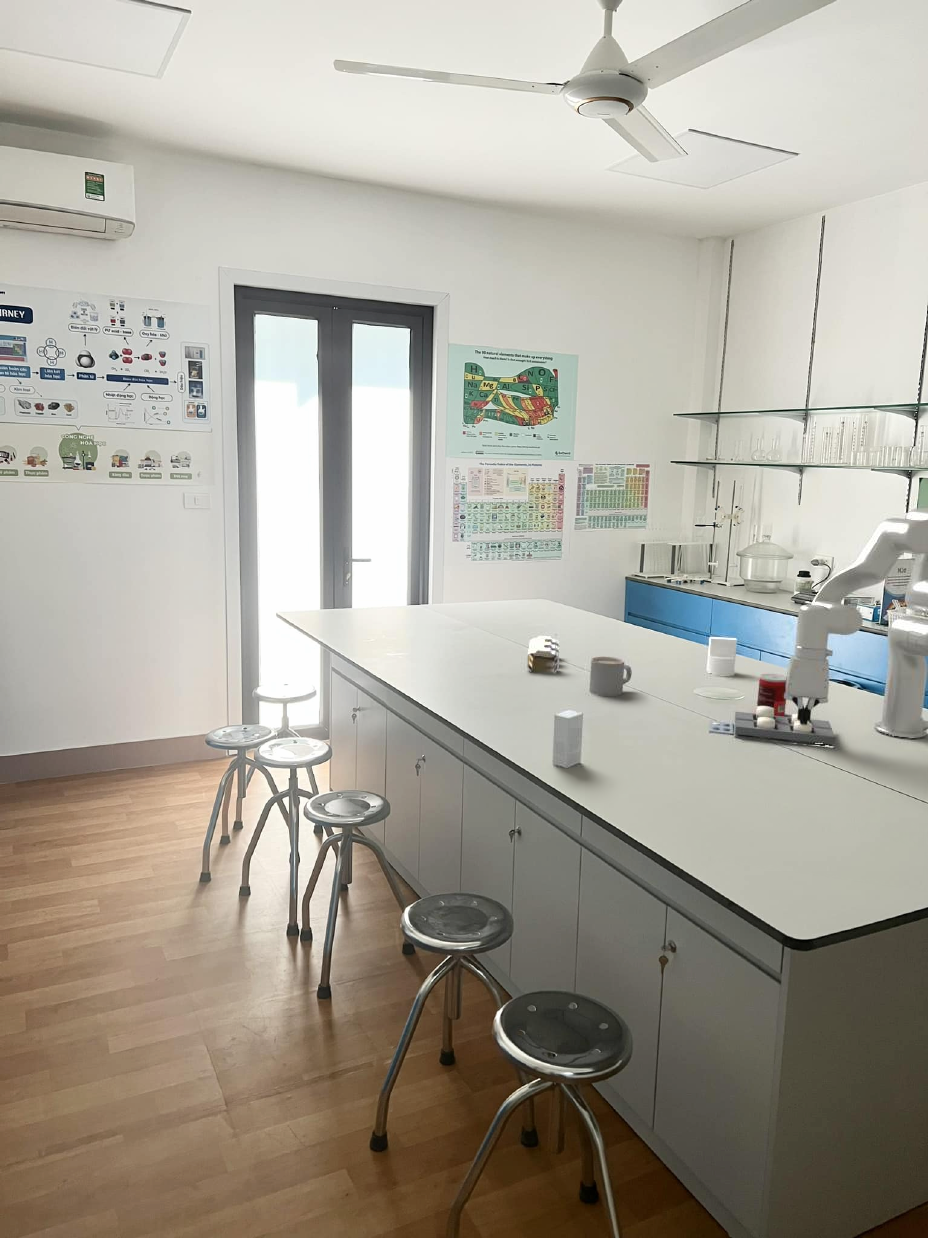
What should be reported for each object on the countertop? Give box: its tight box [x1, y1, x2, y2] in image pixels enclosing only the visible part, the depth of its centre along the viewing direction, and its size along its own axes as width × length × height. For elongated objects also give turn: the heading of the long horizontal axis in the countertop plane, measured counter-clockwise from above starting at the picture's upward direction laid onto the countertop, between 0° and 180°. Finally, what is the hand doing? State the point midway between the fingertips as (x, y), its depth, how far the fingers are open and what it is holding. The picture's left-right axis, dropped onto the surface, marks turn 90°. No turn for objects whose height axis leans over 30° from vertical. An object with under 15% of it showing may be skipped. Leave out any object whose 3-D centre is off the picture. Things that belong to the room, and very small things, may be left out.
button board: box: [708, 711, 836, 746], centre depth 239 cm, size 30×15×3 cm, turn 74°
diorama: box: [526, 633, 560, 674], centre depth 309 cm, size 25×10×13 cm, turn 174°
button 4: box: [793, 721, 812, 733], centre depth 233 cm, size 4×4×3 cm
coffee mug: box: [589, 656, 633, 697], centre depth 276 cm, size 13×10×10 cm
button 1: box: [755, 706, 774, 719], centre depth 242 cm, size 4×4×3 cm
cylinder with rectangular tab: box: [706, 636, 738, 676], centre depth 306 cm, size 9×9×12 cm
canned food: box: [756, 673, 787, 716], centre depth 257 cm, size 8×8×11 cm
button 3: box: [791, 713, 809, 724], centre depth 240 cm, size 4×4×3 cm
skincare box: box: [552, 709, 584, 769], centre depth 209 cm, size 6×4×12 cm
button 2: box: [757, 717, 775, 729], centre depth 236 cm, size 4×4×3 cm
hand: (803, 722), depth 233 cm, fingers closed
